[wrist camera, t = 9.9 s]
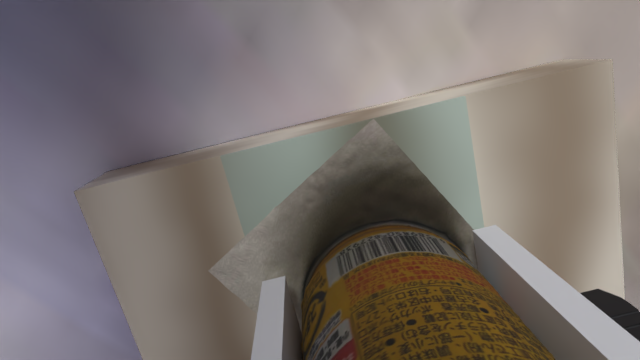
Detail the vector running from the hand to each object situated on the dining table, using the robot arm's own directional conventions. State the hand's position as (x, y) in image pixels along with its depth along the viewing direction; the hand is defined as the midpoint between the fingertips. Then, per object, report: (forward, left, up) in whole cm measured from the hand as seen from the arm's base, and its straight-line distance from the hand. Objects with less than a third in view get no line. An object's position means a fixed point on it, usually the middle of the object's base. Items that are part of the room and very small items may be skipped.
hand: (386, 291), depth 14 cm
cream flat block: (0, -1, -6) cm, 6 cm away
